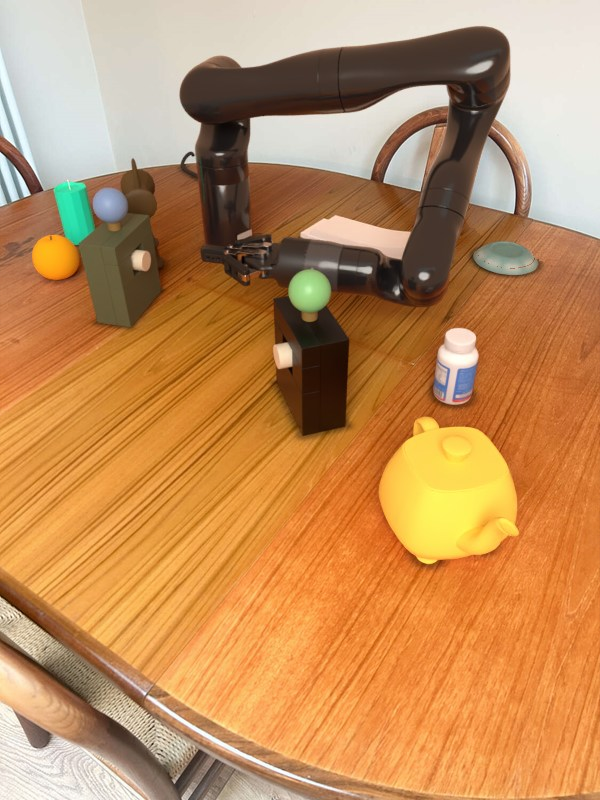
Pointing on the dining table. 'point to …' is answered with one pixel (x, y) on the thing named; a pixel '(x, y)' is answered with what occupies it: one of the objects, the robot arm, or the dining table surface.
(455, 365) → the pill bottle
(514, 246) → the saucer
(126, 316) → the olive block with peg
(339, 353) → the dark block with knob
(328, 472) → the dining table surface
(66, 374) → the dining table surface
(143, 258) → the peach round puck
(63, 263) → the orange fruit
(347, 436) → the dining table surface
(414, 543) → the teapot
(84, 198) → the candle
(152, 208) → the kendama
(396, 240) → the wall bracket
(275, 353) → the stubby beige cylinder
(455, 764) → the dining table surface
